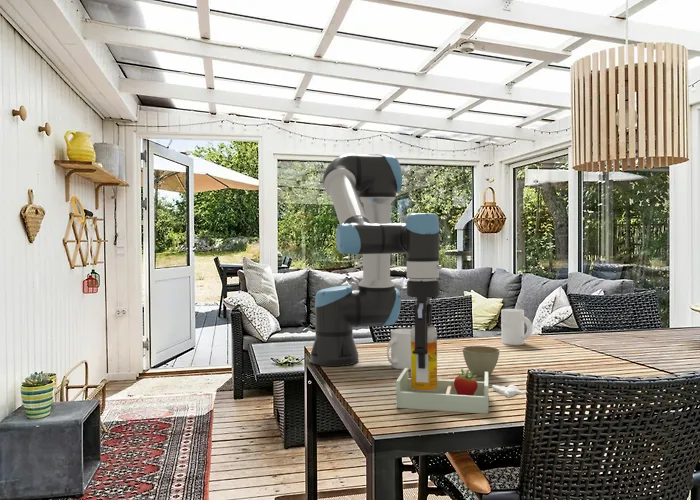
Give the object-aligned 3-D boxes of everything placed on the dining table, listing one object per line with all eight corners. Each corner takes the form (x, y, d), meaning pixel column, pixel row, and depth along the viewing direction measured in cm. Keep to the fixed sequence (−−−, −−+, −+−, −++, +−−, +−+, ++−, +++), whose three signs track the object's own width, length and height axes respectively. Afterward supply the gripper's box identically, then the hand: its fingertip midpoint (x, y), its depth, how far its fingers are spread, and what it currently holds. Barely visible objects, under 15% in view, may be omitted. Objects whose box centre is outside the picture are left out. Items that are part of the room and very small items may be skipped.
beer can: (436, 394, 121) (436, 328, 121) (409, 393, 122) (409, 328, 122) (437, 387, 127) (437, 324, 127) (412, 386, 128) (411, 324, 128)
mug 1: (377, 368, 158) (376, 332, 158) (405, 362, 165) (404, 327, 165) (397, 373, 151) (397, 335, 151) (426, 366, 159) (425, 330, 159)
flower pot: (474, 380, 142) (473, 353, 142) (456, 372, 152) (456, 347, 152) (507, 377, 145) (506, 351, 145) (487, 369, 155) (487, 344, 155)
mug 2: (525, 347, 186) (525, 313, 186) (496, 342, 195) (496, 310, 195) (538, 344, 191) (538, 311, 191) (509, 340, 200) (509, 308, 200)
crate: (396, 407, 120) (396, 381, 120) (405, 391, 132) (405, 367, 132) (488, 413, 115) (488, 386, 115) (488, 396, 127) (488, 371, 127)
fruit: (476, 407, 119) (476, 372, 119) (452, 405, 121) (452, 370, 121) (478, 401, 124) (478, 367, 124) (455, 399, 126) (455, 365, 125)
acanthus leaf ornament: (508, 400, 127) (508, 392, 127) (488, 393, 133) (488, 385, 133) (531, 395, 130) (531, 387, 130) (511, 388, 136) (511, 381, 136)
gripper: (435, 282, 114) (436, 390, 115) (442, 276, 132) (443, 369, 133) (400, 282, 116) (401, 388, 117) (412, 276, 134) (413, 368, 135)
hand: (424, 378), depth 125 cm, fingers closed on beer can, 6 cm apart
